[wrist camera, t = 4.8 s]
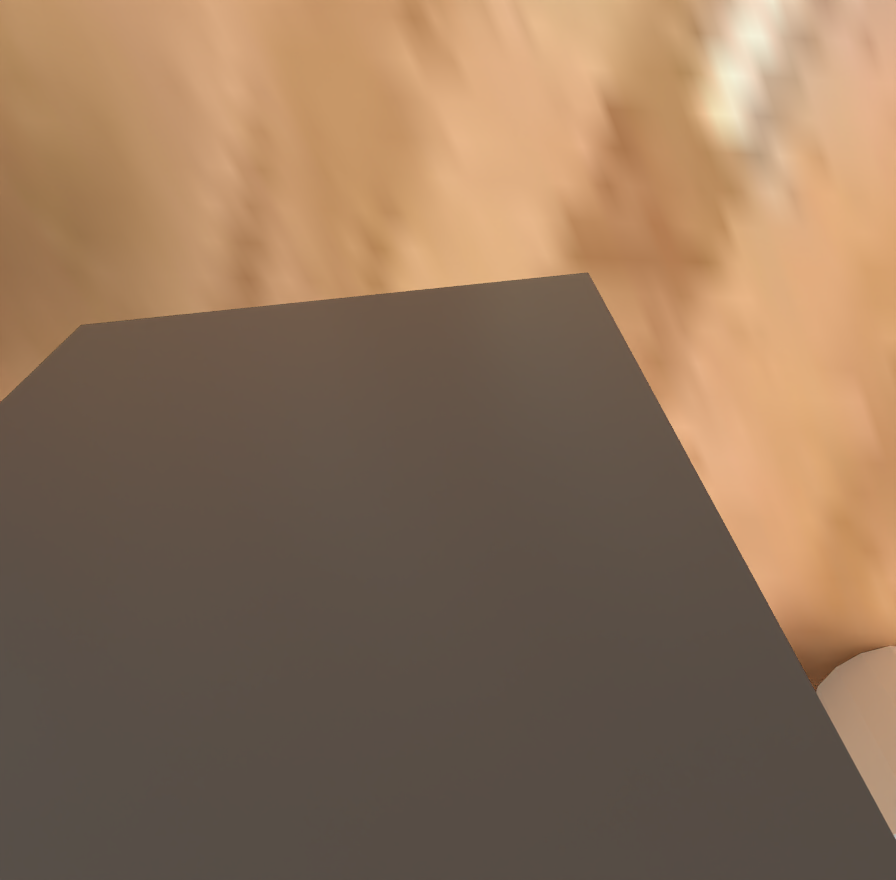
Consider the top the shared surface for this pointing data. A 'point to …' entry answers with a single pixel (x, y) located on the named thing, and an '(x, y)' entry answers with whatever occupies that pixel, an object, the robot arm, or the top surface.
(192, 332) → the grey rectangular block
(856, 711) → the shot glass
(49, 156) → the top surface
